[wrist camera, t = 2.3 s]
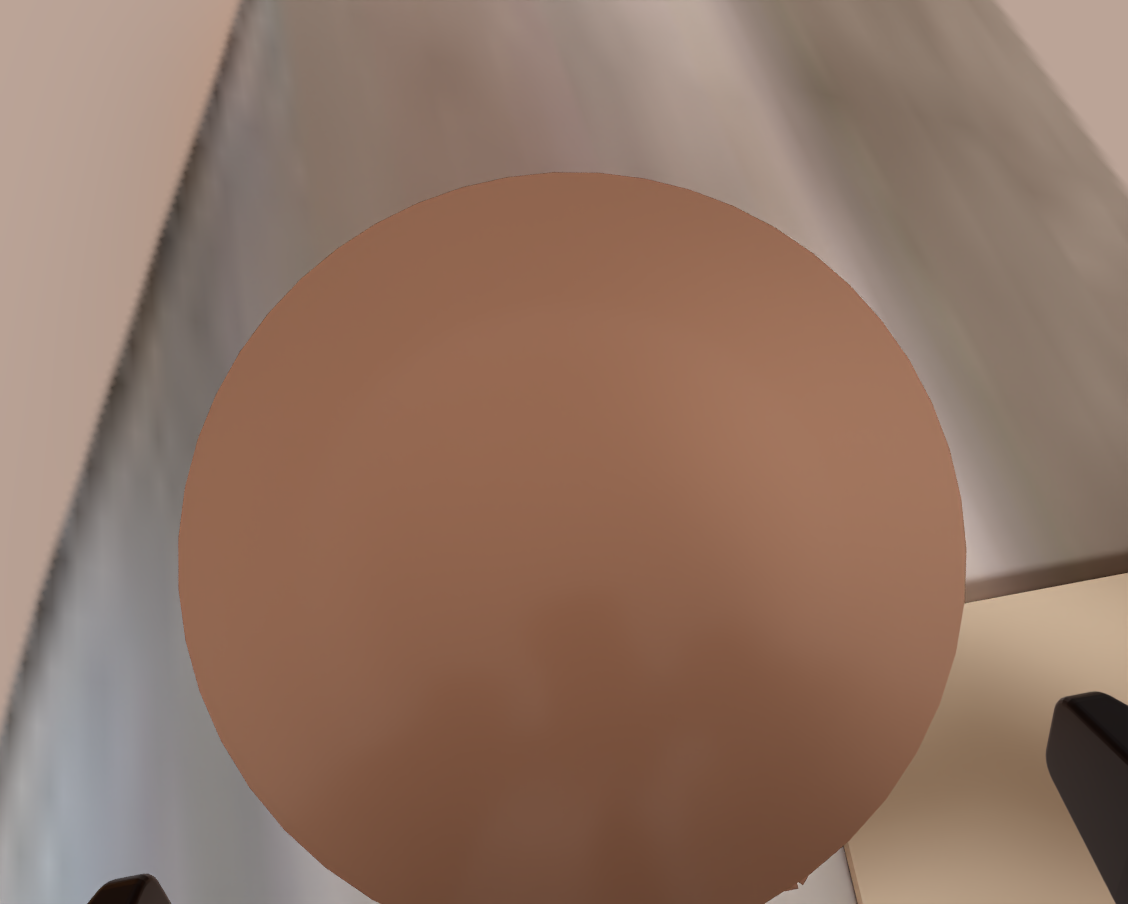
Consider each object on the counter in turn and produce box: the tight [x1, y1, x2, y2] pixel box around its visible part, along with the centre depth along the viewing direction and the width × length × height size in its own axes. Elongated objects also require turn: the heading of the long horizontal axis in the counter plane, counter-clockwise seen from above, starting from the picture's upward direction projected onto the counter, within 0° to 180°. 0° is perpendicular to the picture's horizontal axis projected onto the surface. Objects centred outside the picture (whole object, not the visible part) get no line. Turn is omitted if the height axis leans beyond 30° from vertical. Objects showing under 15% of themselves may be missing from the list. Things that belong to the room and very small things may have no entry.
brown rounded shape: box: [178, 172, 966, 904], centre depth 13 cm, size 6×6×12 cm
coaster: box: [844, 573, 1128, 904], centre depth 18 cm, size 8×8×1 cm
